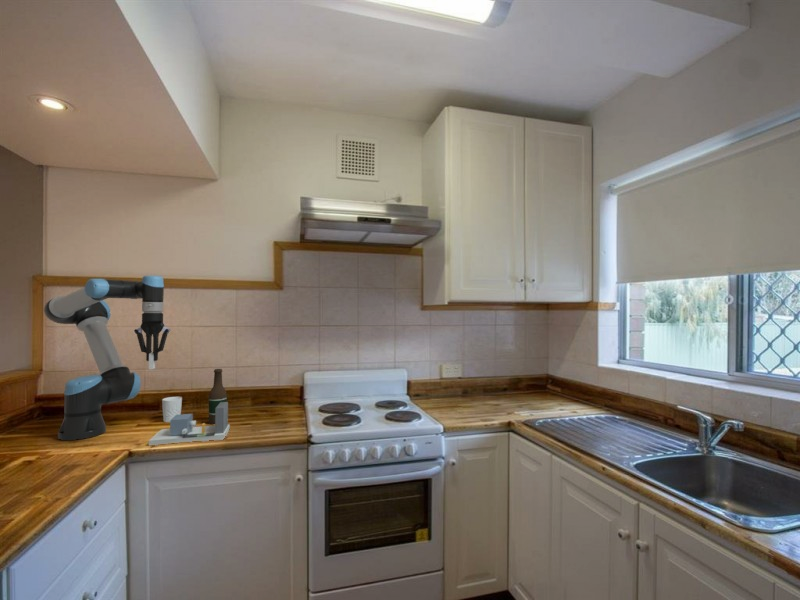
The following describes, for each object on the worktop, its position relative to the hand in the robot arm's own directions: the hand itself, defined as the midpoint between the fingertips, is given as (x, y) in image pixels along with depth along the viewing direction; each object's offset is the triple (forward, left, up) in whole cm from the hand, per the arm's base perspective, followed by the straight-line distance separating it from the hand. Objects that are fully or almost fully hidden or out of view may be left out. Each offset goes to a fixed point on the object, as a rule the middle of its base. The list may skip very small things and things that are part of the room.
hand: (152, 368), depth 160 cm
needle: (+23, -17, -24) cm, 37 cm away
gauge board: (+18, -11, -26) cm, 34 cm away
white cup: (+3, +17, -27) cm, 32 cm away
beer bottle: (+24, +8, -27) cm, 37 cm away
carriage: (+15, -13, -24) cm, 31 cm away
